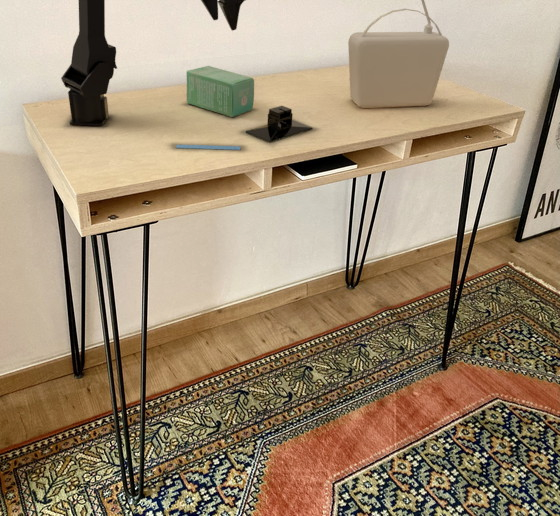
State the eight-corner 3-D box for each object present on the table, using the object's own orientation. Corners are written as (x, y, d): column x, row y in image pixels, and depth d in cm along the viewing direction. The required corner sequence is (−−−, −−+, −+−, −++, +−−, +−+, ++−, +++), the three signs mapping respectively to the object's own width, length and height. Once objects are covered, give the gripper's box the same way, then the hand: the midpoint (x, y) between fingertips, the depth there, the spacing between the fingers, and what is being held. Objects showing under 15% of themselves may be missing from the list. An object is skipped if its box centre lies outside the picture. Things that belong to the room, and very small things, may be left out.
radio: (424, 95, 152) (443, -16, 139) (440, 106, 145) (461, -10, 132) (339, 98, 147) (350, -17, 134) (351, 109, 140) (363, -10, 127)
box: (233, 118, 132) (233, 83, 128) (186, 104, 138) (185, 70, 135) (254, 110, 137) (255, 76, 133) (208, 97, 144) (207, 64, 140)
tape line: (175, 148, 117) (175, 147, 117) (176, 145, 118) (176, 144, 118) (240, 149, 117) (240, 149, 117) (240, 146, 119) (240, 146, 119)
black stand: (269, 143, 121) (269, 120, 119) (244, 133, 125) (244, 110, 123) (312, 129, 129) (314, 107, 126) (287, 119, 133) (288, 98, 130)
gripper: (268, -53, 126) (276, 25, 136) (227, -66, 139) (237, 6, 149) (219, -40, 122) (231, 39, 132) (181, -55, 135) (195, 18, 145)
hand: (224, 24), depth 140 cm, fingers open, 9 cm apart
